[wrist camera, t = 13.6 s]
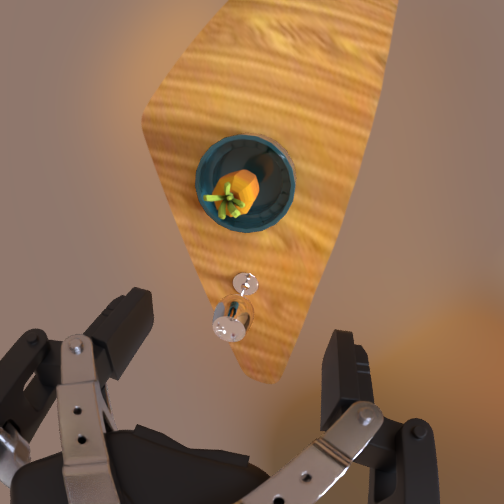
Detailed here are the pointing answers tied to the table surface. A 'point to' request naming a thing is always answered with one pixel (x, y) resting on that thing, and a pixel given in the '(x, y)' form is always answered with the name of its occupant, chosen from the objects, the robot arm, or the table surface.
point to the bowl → (259, 163)
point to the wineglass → (236, 310)
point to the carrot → (234, 193)
